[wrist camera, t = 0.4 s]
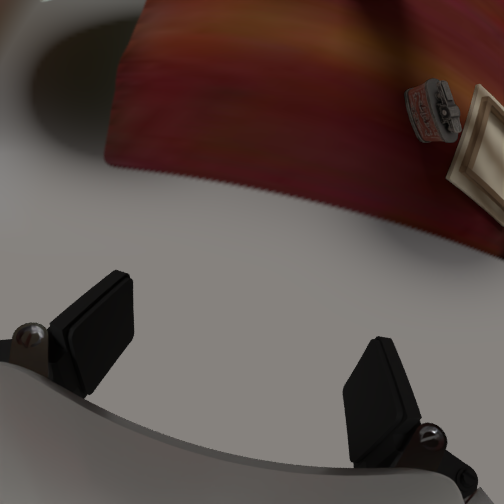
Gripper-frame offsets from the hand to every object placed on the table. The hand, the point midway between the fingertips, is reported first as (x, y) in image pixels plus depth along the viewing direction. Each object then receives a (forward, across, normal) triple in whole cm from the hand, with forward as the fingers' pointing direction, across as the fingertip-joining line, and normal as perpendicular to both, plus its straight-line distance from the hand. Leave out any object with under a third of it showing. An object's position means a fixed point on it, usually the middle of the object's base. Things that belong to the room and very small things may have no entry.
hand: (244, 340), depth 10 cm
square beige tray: (+30, -33, -18) cm, 48 cm away
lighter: (+30, -16, -18) cm, 38 cm away
